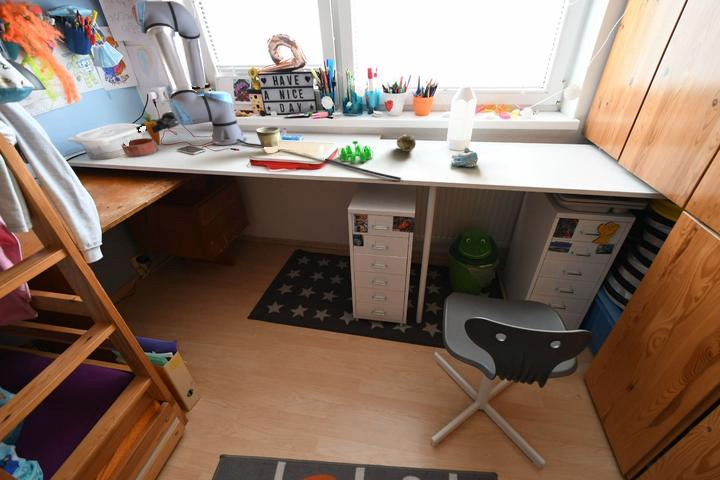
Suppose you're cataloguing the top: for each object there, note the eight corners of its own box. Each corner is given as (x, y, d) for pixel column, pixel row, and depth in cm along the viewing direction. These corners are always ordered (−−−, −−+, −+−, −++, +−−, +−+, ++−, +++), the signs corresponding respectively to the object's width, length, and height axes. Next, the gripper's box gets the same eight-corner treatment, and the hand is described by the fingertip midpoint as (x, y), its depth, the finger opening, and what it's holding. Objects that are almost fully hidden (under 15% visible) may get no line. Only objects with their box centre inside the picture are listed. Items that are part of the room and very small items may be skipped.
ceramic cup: (280, 154, 143) (276, 132, 138) (258, 155, 143) (253, 132, 138) (286, 146, 154) (282, 124, 148) (265, 146, 154) (261, 125, 149)
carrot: (159, 146, 161) (147, 114, 152) (150, 146, 162) (138, 114, 153) (166, 143, 165) (154, 112, 156) (157, 143, 166) (145, 112, 157)
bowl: (162, 150, 154) (158, 140, 151) (134, 159, 145) (129, 148, 142) (148, 146, 160) (144, 136, 158) (120, 154, 151) (115, 143, 149)
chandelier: (376, 153, 141) (376, 137, 137) (370, 165, 128) (369, 148, 125) (342, 152, 143) (342, 136, 140) (333, 163, 131) (332, 147, 127)
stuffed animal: (465, 143, 130) (486, 146, 119) (465, 161, 133) (486, 165, 122) (443, 148, 126) (463, 150, 116) (443, 166, 129) (463, 170, 119)
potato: (415, 147, 146) (416, 129, 142) (415, 156, 135) (416, 137, 131) (396, 147, 147) (397, 129, 143) (395, 156, 136) (395, 137, 132)
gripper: (192, 125, 175) (168, 137, 156) (157, 126, 176) (129, 138, 157) (187, 111, 170) (162, 121, 151) (152, 111, 172) (122, 122, 153)
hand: (145, 130), depth 154 cm, fingers open, 7 cm apart
